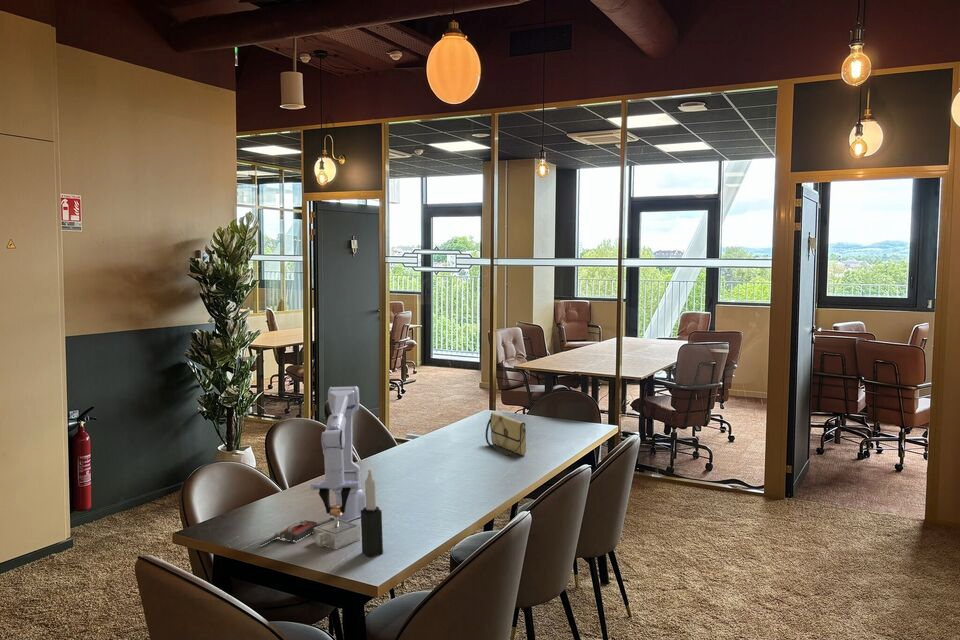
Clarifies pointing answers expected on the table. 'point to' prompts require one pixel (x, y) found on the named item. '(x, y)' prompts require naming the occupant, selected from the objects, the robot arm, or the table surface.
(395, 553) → the table surface
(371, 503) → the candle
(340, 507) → the square lid with knob
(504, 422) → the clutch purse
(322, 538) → the square tray with tab
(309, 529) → the walkie-talkie
